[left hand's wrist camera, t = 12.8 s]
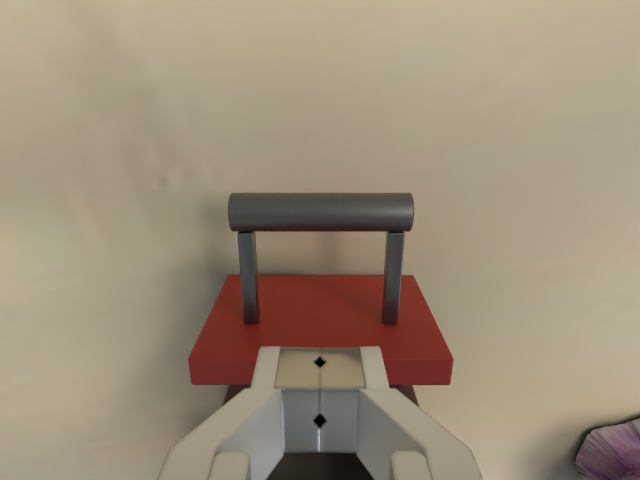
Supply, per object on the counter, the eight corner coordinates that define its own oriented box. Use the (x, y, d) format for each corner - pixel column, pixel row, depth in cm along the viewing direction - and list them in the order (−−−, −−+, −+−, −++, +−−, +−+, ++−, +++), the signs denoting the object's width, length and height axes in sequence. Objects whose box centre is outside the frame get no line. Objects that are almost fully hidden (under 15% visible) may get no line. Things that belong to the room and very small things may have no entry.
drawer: (219, 169, 20) (168, 213, 13) (422, 169, 20) (473, 213, 13) (246, 496, 27) (222, 629, 21) (394, 496, 27) (418, 629, 21)
